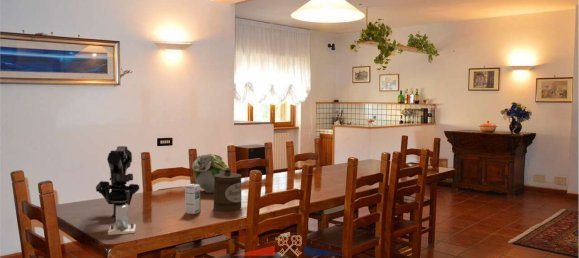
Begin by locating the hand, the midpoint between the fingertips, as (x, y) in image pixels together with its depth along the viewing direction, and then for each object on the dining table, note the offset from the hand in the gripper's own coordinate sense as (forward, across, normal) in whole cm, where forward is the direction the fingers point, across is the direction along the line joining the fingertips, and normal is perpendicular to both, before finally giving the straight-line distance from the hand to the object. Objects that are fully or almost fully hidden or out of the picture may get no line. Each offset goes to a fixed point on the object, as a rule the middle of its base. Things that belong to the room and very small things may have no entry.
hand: (119, 204), depth 217 cm
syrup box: (+2, +40, +2) cm, 40 cm away
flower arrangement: (-27, +77, +32) cm, 88 cm away
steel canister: (+13, -1, -2) cm, 13 cm away
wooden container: (0, +60, -2) cm, 60 cm away
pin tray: (+13, 0, -2) cm, 14 cm away
